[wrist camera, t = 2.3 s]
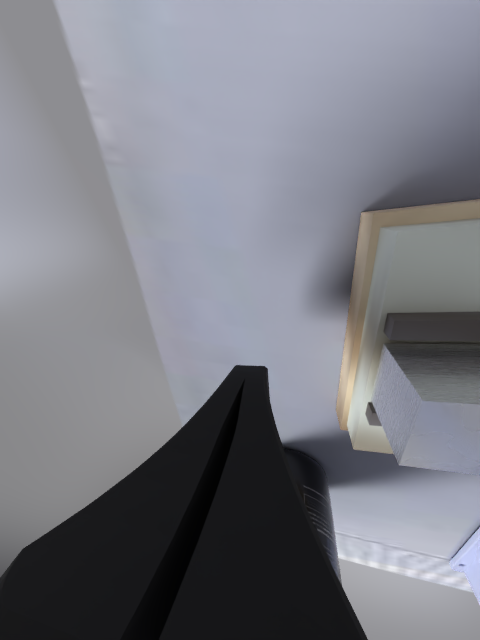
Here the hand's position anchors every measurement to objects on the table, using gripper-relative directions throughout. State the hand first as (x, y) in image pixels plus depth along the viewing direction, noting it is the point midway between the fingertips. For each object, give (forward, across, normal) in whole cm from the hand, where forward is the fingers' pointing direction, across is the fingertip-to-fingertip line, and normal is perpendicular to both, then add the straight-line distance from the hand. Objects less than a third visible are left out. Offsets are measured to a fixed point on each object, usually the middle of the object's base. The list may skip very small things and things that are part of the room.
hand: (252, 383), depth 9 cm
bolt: (+1, -8, 0) cm, 8 cm away
